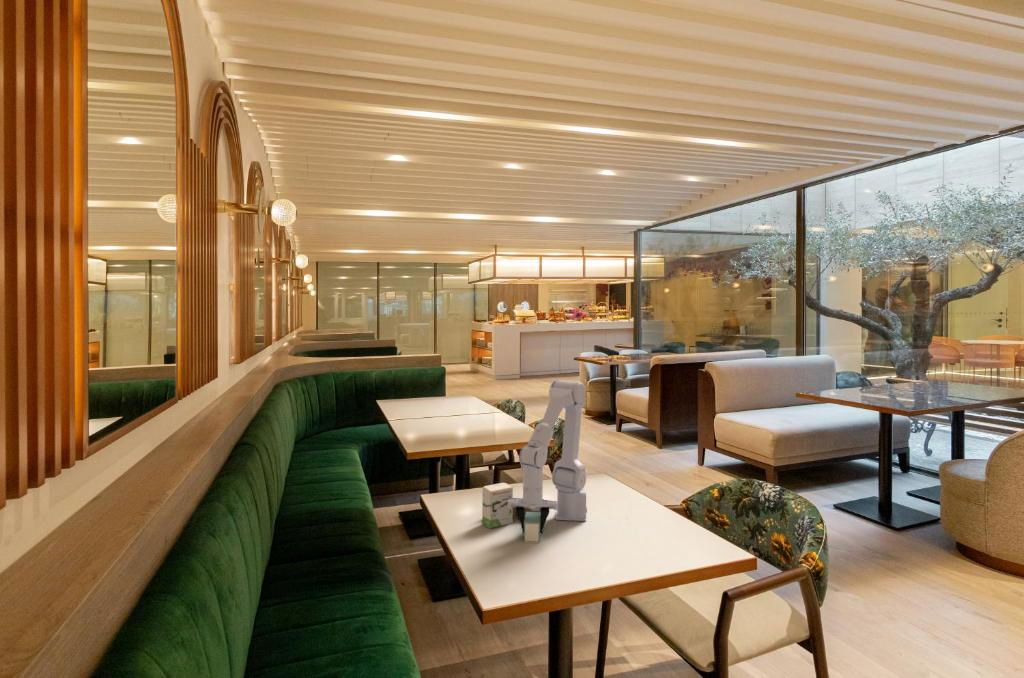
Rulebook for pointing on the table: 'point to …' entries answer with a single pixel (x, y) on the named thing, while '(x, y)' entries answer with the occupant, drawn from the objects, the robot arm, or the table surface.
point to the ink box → (497, 505)
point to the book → (532, 527)
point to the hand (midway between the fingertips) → (532, 532)
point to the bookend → (538, 511)
